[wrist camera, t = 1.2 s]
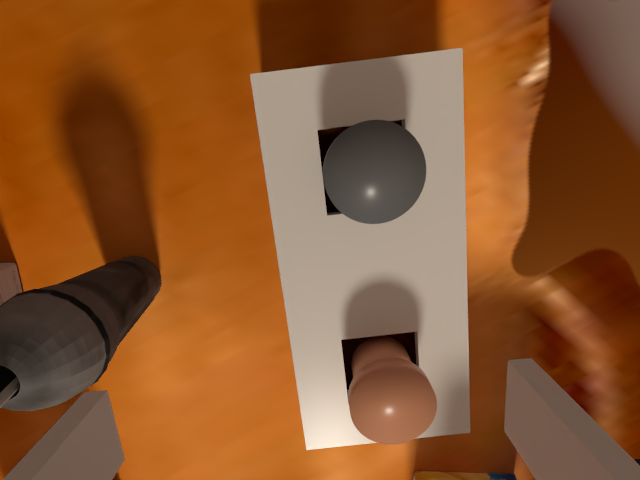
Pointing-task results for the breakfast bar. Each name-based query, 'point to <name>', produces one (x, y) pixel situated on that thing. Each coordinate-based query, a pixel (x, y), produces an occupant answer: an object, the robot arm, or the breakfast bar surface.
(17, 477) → the robot arm
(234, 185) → the breakfast bar surface
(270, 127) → the plunger panel
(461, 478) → the beverage box
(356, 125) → the charcoal plunger
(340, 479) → the breakfast bar surface
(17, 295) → the beverage cup
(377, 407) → the terracotta plunger
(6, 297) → the supplement box
